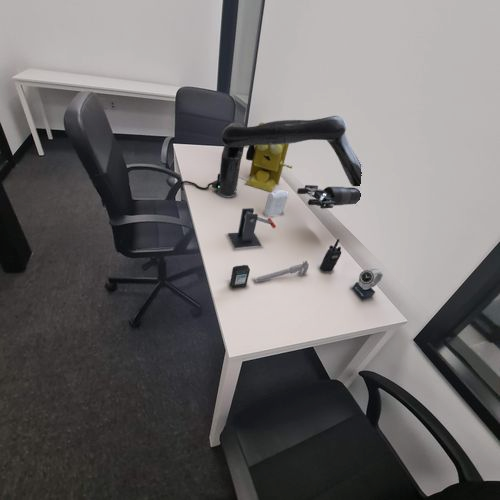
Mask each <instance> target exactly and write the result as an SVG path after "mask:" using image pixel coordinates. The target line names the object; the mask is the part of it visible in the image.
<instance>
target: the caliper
mask: <svg viewBox="0 0 500 500" xmlns="http://www.w3.org/2000/svg"><path fill="white" fill-rule="evenodd" d="M308 270H309V262H308V260H305V261H302V263H299V264H296V265H293V266H290V267H289V268H286V269H285V268H284V269H283V270H282V269H281V270H278V271H275V272H272V273H268V274H265V275H262V276H258V277H257V278H255V279H253V280H254V283H260V282H264V281H268V280H272V279H274V278H275V279H276V278H278V277H281V276H284V275H287V274H290V275H292V274H296V273H299V276H302V274H304V275H306V274H307V272H308Z"/></svg>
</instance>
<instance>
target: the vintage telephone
mask: <svg viewBox="0 0 500 500" xmlns="http://www.w3.org/2000/svg"><path fill="white" fill-rule="evenodd" d="M265 123H266V122H260V123H258V125H261V124H265ZM289 145H290V144H278V145H250V146H248V148H247V150H246V155H245V160H247V161H248V162H249V161H250V162H251V165H250V171H249V178H248V180H246V179H244V178H242V177H240V176H238V179H241V180H244V181H246V182H245V185H246V186H250V187H252V188H256V189H259V190H262V191H266V192H269V193H271V192H273V190H274V188H275V186H276V185H279V184H280V180H281V175H282V173H283V168H284V167H286V168H288V169H292V168H293V165H289V164H286V163H285V160H286V157H287V153H288V149H289Z"/></svg>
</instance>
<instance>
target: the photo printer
mask: <svg viewBox="0 0 500 500" xmlns="http://www.w3.org/2000/svg"><path fill="white" fill-rule="evenodd" d="M288 198H289V193H288V191H287V190H284V189H277V190H272V191H271V192H269V193H268V195H267V198H266V202H265V205H264V210H263V213H264V215H266V216H268V217H272V216H277V215H281V214H283V213H284V210H285V207H286V204H287V200H288Z"/></svg>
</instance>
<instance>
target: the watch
mask: <svg viewBox="0 0 500 500" xmlns="http://www.w3.org/2000/svg"><path fill="white" fill-rule="evenodd" d="M358 276H359V277H358V280H357V282H355V283H354V285H353V286H352V290H353V291H354V293H355V294H356V295H357V296H358V297H359V298H360V299H361V301H364V300H368V299H372V297H373V296H375V293H376V290H374V289H373V288H374V287H376V286H377V285H378V284H379V282H381V281H382V278H383V277H384V274H383V273H382V272H381V271H380V270H379V268H369V269H365V270H363V271H361V272H360V273H359V275H358Z"/></svg>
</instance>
